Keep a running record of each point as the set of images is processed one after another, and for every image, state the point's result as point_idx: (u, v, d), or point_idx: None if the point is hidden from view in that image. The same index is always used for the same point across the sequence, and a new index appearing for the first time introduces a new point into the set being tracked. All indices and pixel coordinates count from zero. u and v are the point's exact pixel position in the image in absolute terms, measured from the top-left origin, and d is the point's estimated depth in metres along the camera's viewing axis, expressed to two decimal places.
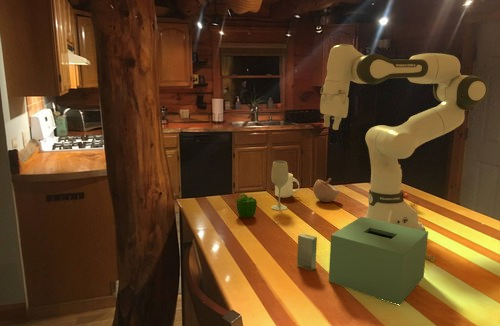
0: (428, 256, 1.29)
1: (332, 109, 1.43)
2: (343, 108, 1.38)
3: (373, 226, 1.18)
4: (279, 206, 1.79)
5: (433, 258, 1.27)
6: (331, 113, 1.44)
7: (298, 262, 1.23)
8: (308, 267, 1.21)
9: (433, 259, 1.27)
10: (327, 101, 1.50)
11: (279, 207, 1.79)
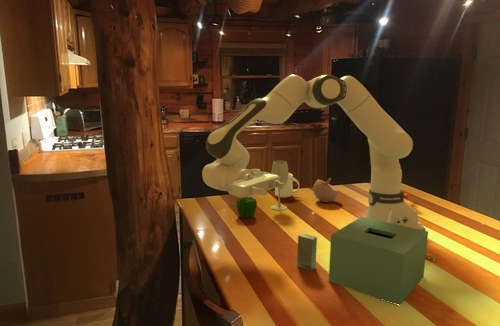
0: (429, 256, 1.29)
1: None
2: (235, 191, 1.23)
3: (373, 226, 1.18)
4: (279, 206, 1.79)
5: (434, 258, 1.27)
6: None
7: (298, 262, 1.23)
8: (308, 267, 1.21)
9: (434, 259, 1.27)
10: None
11: (279, 207, 1.79)
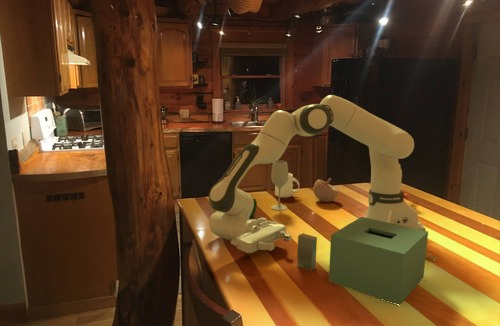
0: (429, 256, 1.29)
1: None
2: (242, 246, 1.25)
3: (373, 226, 1.18)
4: (279, 206, 1.79)
5: (434, 258, 1.27)
6: None
7: (298, 262, 1.23)
8: (308, 267, 1.21)
9: (434, 259, 1.27)
10: None
11: (279, 207, 1.79)
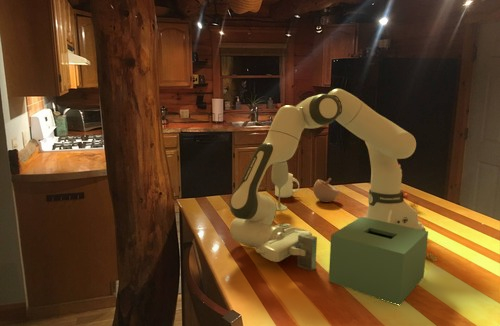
0: (429, 256, 1.29)
1: None
2: (269, 254, 1.19)
3: (373, 226, 1.18)
4: (279, 206, 1.79)
5: (434, 258, 1.28)
6: None
7: (298, 262, 1.23)
8: (308, 267, 1.21)
9: (434, 259, 1.28)
10: None
11: (279, 207, 1.79)
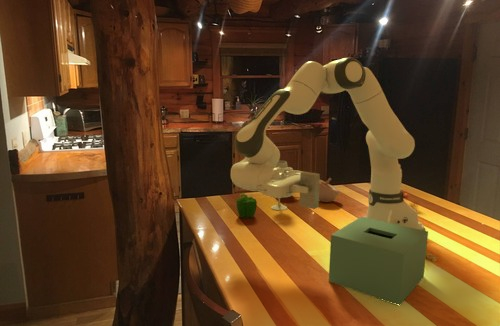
0: (429, 256, 1.29)
1: None
2: (270, 191, 1.15)
3: (373, 226, 1.18)
4: (279, 206, 1.79)
5: (434, 258, 1.28)
6: None
7: (300, 201, 1.19)
8: (311, 205, 1.17)
9: (434, 259, 1.28)
10: None
11: (279, 207, 1.79)
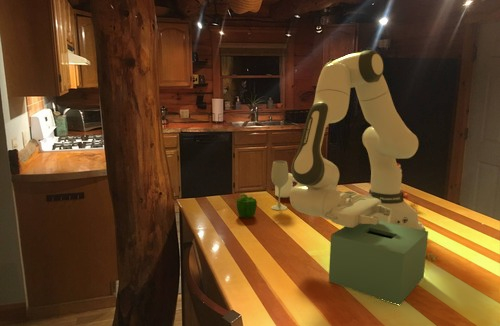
0: (430, 255, 1.30)
1: None
2: (342, 220, 1.09)
3: (373, 226, 1.18)
4: (279, 206, 1.79)
5: (434, 257, 1.28)
6: None
7: None
8: None
9: (434, 258, 1.28)
10: None
11: (279, 207, 1.79)
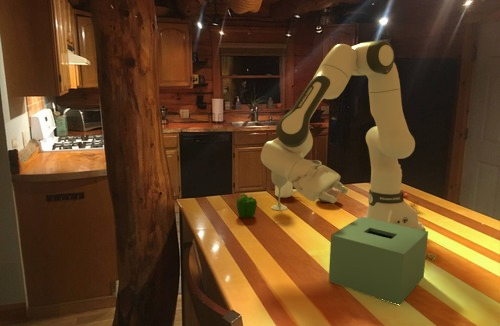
0: (430, 255, 1.30)
1: None
2: (306, 192, 1.19)
3: (373, 226, 1.18)
4: (279, 206, 1.79)
5: (434, 257, 1.28)
6: None
7: None
8: None
9: (434, 258, 1.28)
10: None
11: (279, 207, 1.79)
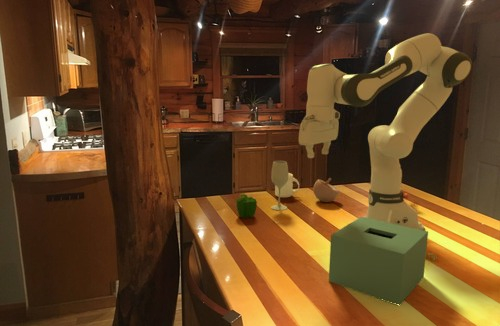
0: (430, 255, 1.30)
1: None
2: (303, 135, 1.26)
3: (373, 226, 1.18)
4: (279, 206, 1.79)
5: (434, 257, 1.28)
6: None
7: None
8: None
9: (434, 258, 1.28)
10: None
11: (279, 207, 1.79)
